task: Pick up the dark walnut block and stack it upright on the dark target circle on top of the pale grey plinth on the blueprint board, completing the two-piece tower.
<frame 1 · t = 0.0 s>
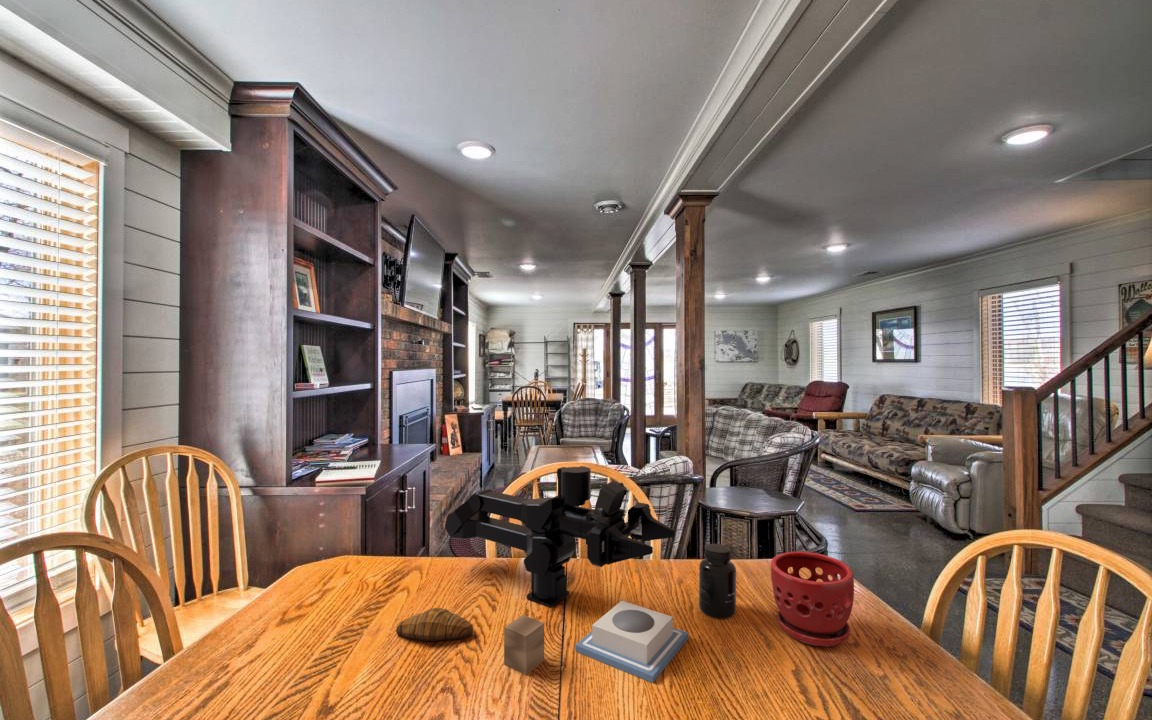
hand: (664, 541, 85), 17 cm above the table, tool horizontal, fingers open, 9 cm apart
walnut block: (524, 662, 78), on the table
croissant: (434, 637, 86), on the table
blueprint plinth: (633, 644, 83), on the table
supplement bottle: (717, 611, 94), on the table
plant pot: (810, 633, 87), on the table
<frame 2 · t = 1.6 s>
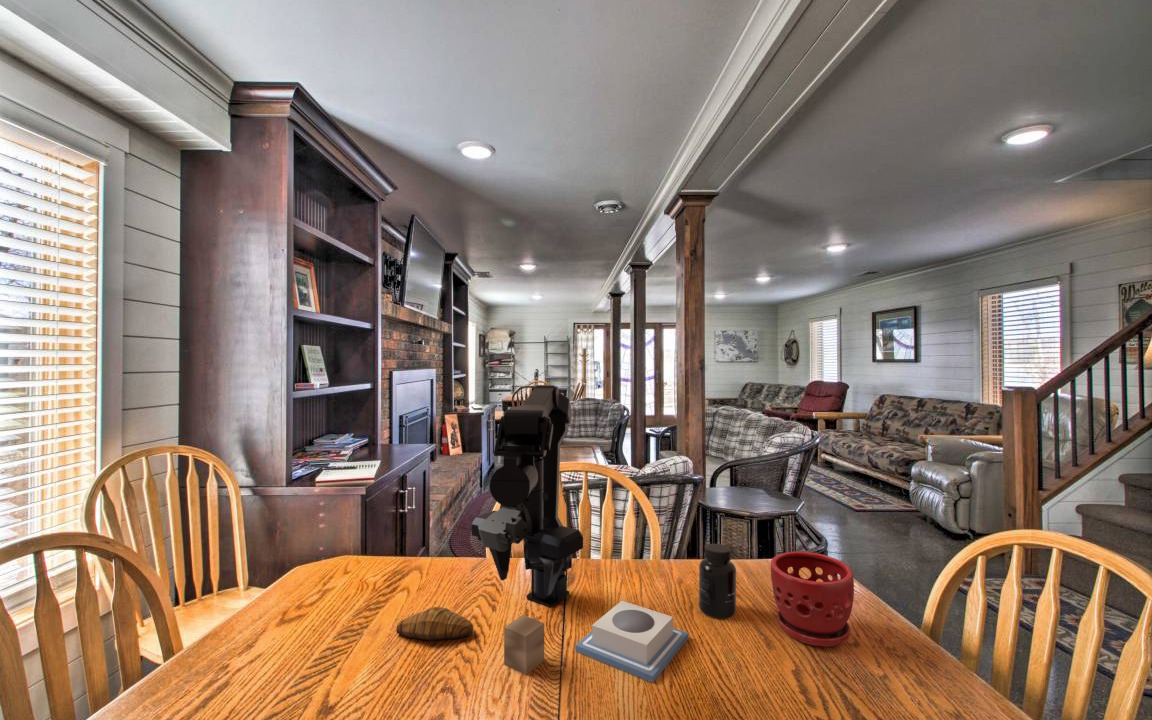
hand: (525, 586, 78), 12 cm above the table, tool pointing down, fingers open, 9 cm apart
nothing on the table moved.
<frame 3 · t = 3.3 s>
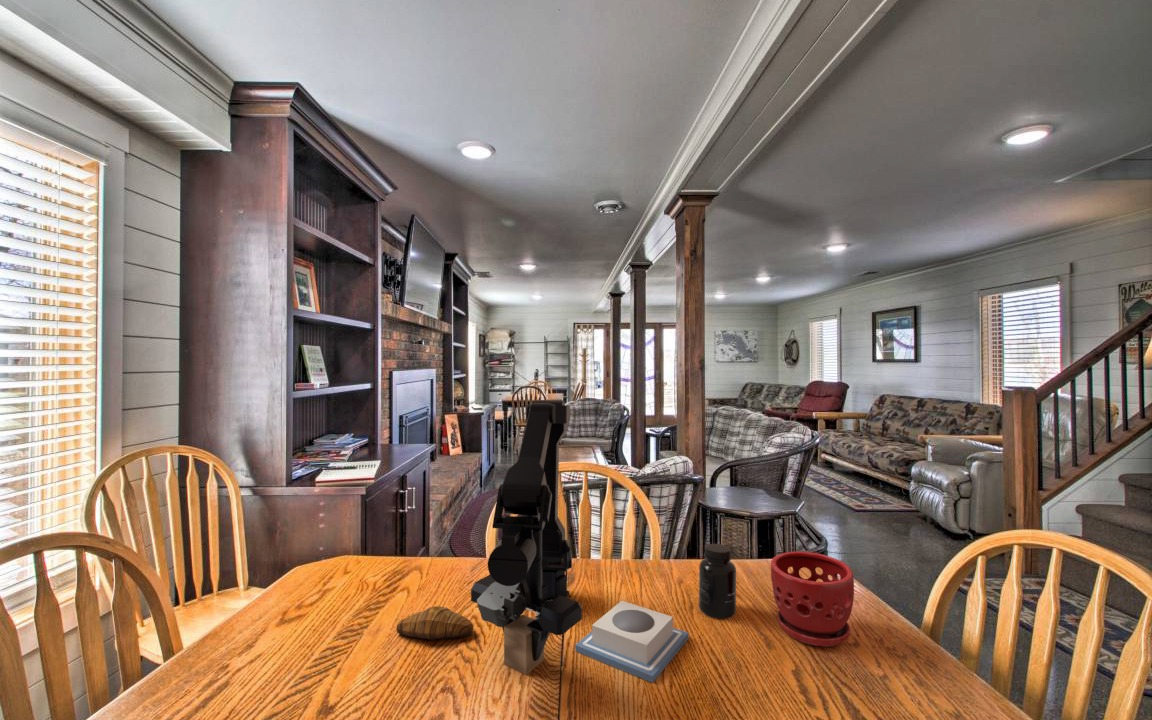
hand: (524, 654, 78), 1 cm above the table, tool pointing down, fingers closed on walnut block, 4 cm apart
walnut block: (524, 662, 78), on the table, touching gripper
everything else where it was.
when the fingers open (7 cm above the table, at t = 7.2 s): walnut block drops 1 cm, resting on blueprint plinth.
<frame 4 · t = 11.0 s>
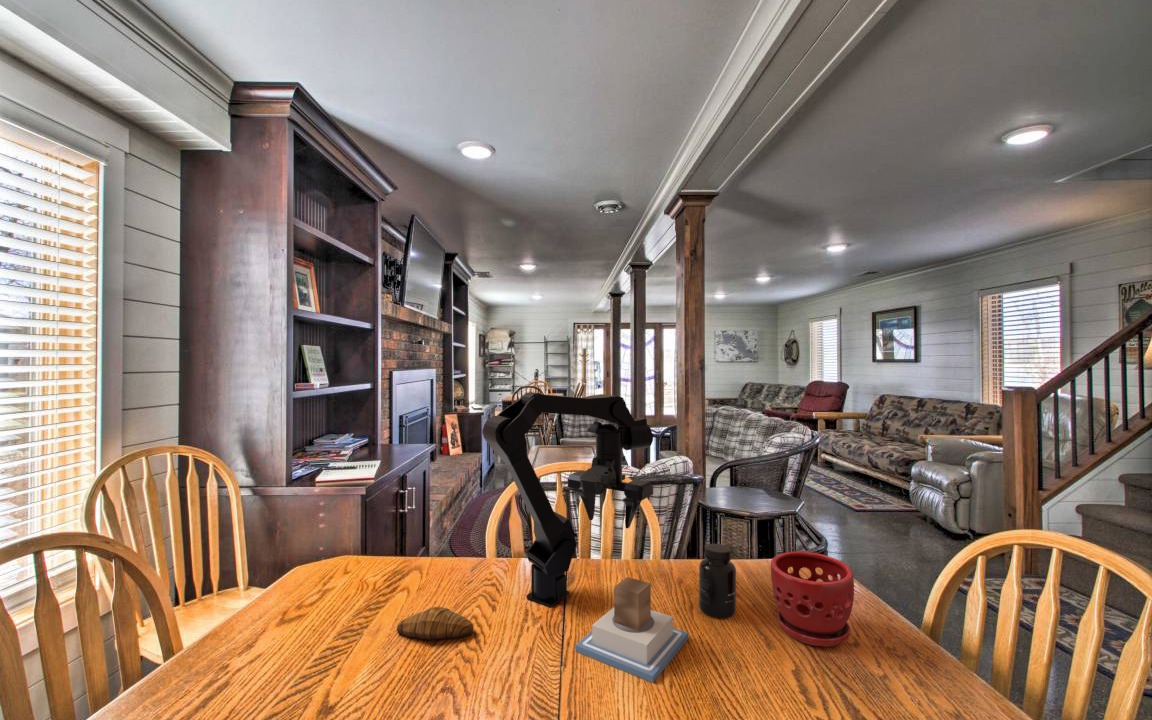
hand: (609, 523, 108), 12 cm above the table, tool pointing down, fingers open, 9 cm apart
walnut block: (632, 620, 83), point 4 cm above the table, touching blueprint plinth
everything else where it was.
at the end: walnut block 0.1 cm off-centre on the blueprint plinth, point 4.1 cm above the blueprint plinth's base; walnut block tilted 0°; the gripper is holding nothing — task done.
